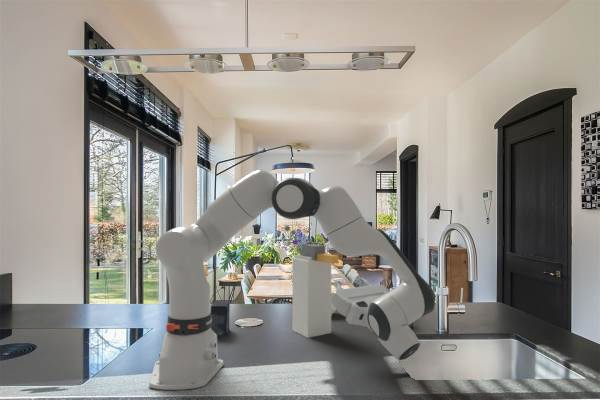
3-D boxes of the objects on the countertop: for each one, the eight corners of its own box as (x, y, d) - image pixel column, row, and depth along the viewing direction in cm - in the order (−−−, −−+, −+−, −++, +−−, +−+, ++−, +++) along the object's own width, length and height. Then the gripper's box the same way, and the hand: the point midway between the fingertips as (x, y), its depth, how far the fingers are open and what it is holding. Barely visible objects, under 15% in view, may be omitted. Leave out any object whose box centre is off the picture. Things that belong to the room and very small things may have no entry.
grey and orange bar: (340, 262, 135) (340, 247, 135) (330, 263, 132) (330, 248, 132) (312, 257, 149) (312, 244, 149) (301, 258, 146) (302, 244, 147)
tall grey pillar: (331, 333, 143) (331, 256, 144) (307, 337, 138) (307, 257, 138) (315, 326, 151) (315, 253, 152) (292, 330, 146) (292, 255, 147)
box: (226, 336, 139) (226, 305, 139) (210, 336, 139) (210, 305, 139) (229, 329, 147) (229, 300, 147) (214, 329, 146) (214, 300, 147)
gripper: (403, 298, 122) (375, 270, 132) (351, 307, 111) (325, 276, 121) (395, 314, 124) (369, 286, 135) (344, 324, 113) (319, 292, 124)
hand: (348, 281), depth 128 cm, fingers open, 8 cm apart
